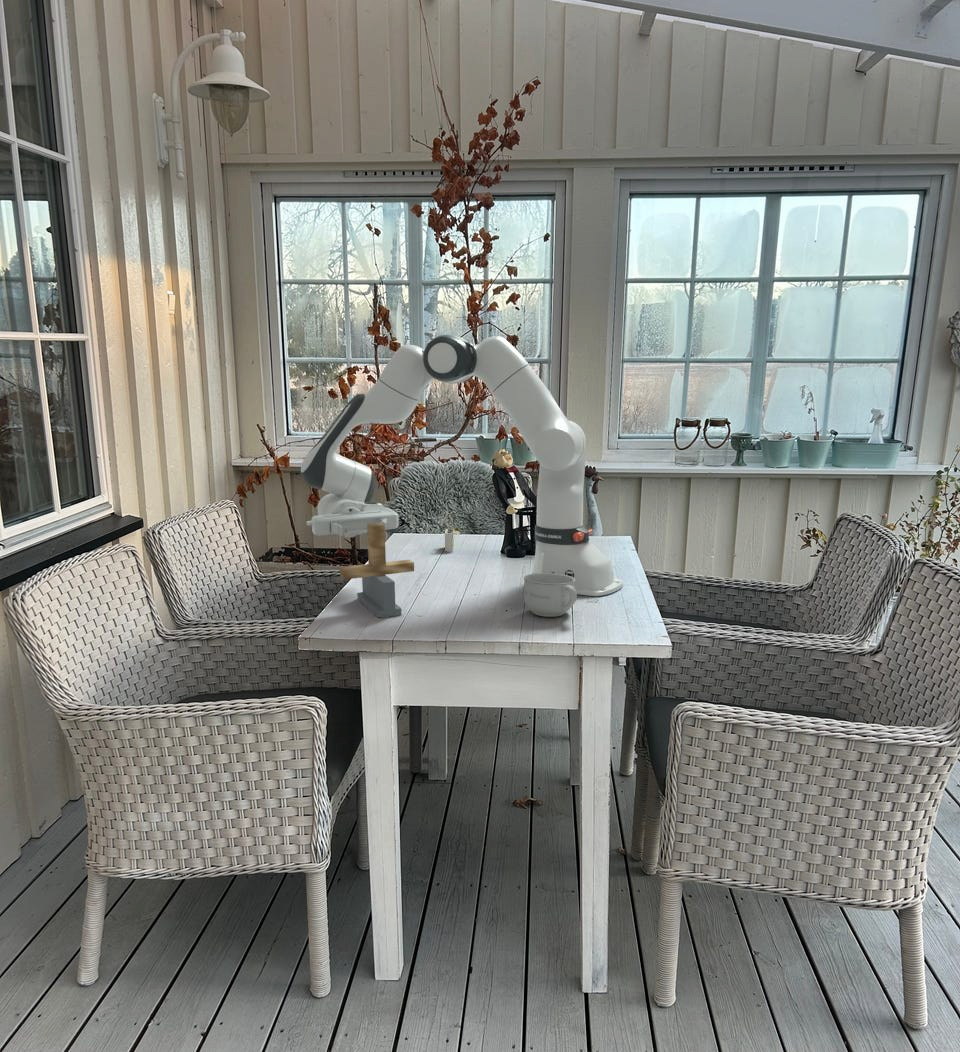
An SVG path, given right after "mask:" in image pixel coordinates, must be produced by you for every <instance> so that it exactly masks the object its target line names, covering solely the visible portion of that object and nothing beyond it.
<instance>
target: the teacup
mask: <svg viewBox="0 0 960 1052" xmlns="http://www.w3.org/2000/svg"><path fill="white" fill-rule="evenodd" d="M523 579H524V587H523V588H524V589H523V591H524V592H523V596H524V597H523V599H524V604H525V606H526V607H527V608H528V610H530V611H531V613H532V614H534V615H536V616H541V617H547V618H549V617H550V618H551V617H552V618H553V617H560V616H563V615H564V614H565V613H566V612H568V611H570V609H571V608H572V606H574V604H575V603H576V602H577V598H578V594H577V593H576V590H575V588H574V583H575V579H574V578H573V577H571V576H567V575H562V574H555V573H535V574H532V573H530V574H526V575H525V576H524V577H523Z"/></svg>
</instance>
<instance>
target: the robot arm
mask: <svg viewBox="0 0 960 1052" xmlns="http://www.w3.org/2000/svg"><path fill="white" fill-rule="evenodd" d="M474 377H476V378H479V380H480V381H482V382H483V383H484V385H485V386H486V387H487V388H488V390H489V391H490V393H491V394H492V395H493V397H494V398H495V400H497V402H498V403H499V404H500V405H501V407H502V409H503V410H504V411H505V412H506V414H507V415H508V417H510V420H511V421H512V422H513V424H514V425H515V427H516V429H517V430H518V432H519V434H520V435H521V437H522V439H523V441H524V442H525V444H526V446H527V447H528V449H529V450H530V451H531V453H532V454H533V456H534V457H535V460H536V461H537V462H538V464H539V471H538V480H537V481H538V482H537V489H536V524H535V525H534V542H535V544H534V545H535V554H534V562H533V567H532V571H531V574H535V573H555V574H562V575H567V576H571V577H573V578H574V579H575V583H574V588H575V590H576V593H577V595H579V596H580V595H581V596H591V597H599V596H600V597H601V596H605V595H610V594H613V593H614V592H616V591H618V590H621V588H622V587H623V586H624V582H623V580H622V579H620V578H616V577H614V567H613V563H612V560H611V559H610V558H609V557H608V556H606V555H605V554H604V553H603V552H602V551H600V549H599V548H598V547H596V546H595V545H594V544H593V543H592V542H591V541H590V535H592V534H593V532H592V531H593V529H592V528H590V529H587V528H586V527H585V525H584V524H583V521H584V517H583V516H584V515H583V514H584V487H585V485H584V484H585V471H586V469H585V468H586V451H587V440H586V434H585V432H584V430H583V428H582V427H581V426H580V425H579V424H578V423H576V422H575V421H572V420H569V419H568V418H567V417H566V416H565V414H564V412H563V411H562V410H561V407H559V405H558V403H557V402H556V400H555V398H554V397H553V395H552V393H551V391H550V390H549V388H548V387H547V385H545V383H544V382H543V381H542V379H541V378H540V377H539V375H538V374H537V373H536V371H535V370H534V369H533V367H532V366H531V365H530V364H529V363H528V361H527V360H526V359H525V357H524V356H523V354H521V353H520V352H519V351H518V349H516V347H514V345H512V343H511V342H509V341H508V340H507V339H506V338H505V337H503V336H499V335H493V336H489V337H487V338H484V339H483V340H481V342H479V343H477V344H473V343H471V342H470V341H468V340H466V339H465V338H463V337H461V336H460V337H459V336H456V335H450V334H442V335H438V336H435V337H434V338H432V339H431V340H430V341H429V342H428V343H427V344H426V346H425V347H424V348H422V347H420V346H419V345H415V344H404V345H401V346H400V347H398V349H397V350H396V351H395V352H394V354H393V355H392V357H391V358H390V359H389V360H388V362H387V363H386V365H385V366H384V368H383V369H382V372H381V374H380V376H379V377H378V379H377V381H376V382H375V383H374V385H373V386H372V387H371V388H370V389H369V390H367V391H366V392H364V393H357V394H356V395H354V396H352V398H351V399H350V400H349V401H348V402H347V404H346V405H344V407H343V409H342V410H341V411H340V413H339V414H338V415H337V416H336V418H335V419H334V420H333V422H332V423H331V425H330V426H329V427H328V428H327V430H326V431H325V432H324V434H323V435H322V436H321V438H320V439H319V440H318V442H317V443H316V444H315V445H314V446H313V447H311V449H310V451H309V452H308V453H307V454H306V455H305V457H304V458H303V459H302V462H301V466H300V470H299V473H300V476H301V477H302V478H301V479H302V480H303V482H304V483H305V484H306V486H307V487H310V488H313V489H316V490H322V491H324V492H326V493H328V494H326V495H324V496H323V497H322V498H321V499H320V500H319V501H318V504H317V515H313V516H312V517H311V519H310V520H307V521H306V526H308V527H311V530H312V531H311V532H312V533H313V535H315V536H327V535H328V536H329V535H338V536H341V537H343V538H354V537H356V536H358V535H362V534H365V533H367V524H372V523H382V524H384V525H385V531H387V530H395V529H398V528H399V513H398V512H396V511H395V510H393V509H391V508H388V507H385V506H384V505H383V504H382V503H380V502H371V500H372V498H373V496H374V493H375V490H376V478H375V475H374V474H375V473H374V471H373V470H372V468H371V467H369V466H367V465H366V464H362V463H360V462H358V461H356V460H352V459H351V458H347V457H345V456H342V455H340V454H338V453H336V452H337V450H338V449H339V447H340V446H341V444H343V442H344V440H345V439H346V438H347V437H348V435H349V434H350V433H351V431H352V430H353V429H354V428H356V427H357V426H359V425H365V424H379V425H381V424H383V425H392V424H398V423H400V422H403V421H405V420H406V419H408V418H410V416H411V415H412V413H413V412H414V411H415V410H416V407H417V406H418V405H419V404H418V403H419V402H420V400H421V398H422V396H423V395H424V392H425V391H426V389H427V387H428V386H429V384H430V383H431V382H433V381H439V382H443V383H446V384H451V385H452V384H462V383H465V382H466V383H467V382H468V381H470V380H471V379H472V378H474Z"/></svg>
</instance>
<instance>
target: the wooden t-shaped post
mask: <svg viewBox="0 0 960 1052" xmlns="http://www.w3.org/2000/svg"><path fill="white" fill-rule="evenodd" d="M366 533H367V557H368V563H367V564H359V565H352V566H351V565H349V566H341V567H340V566H339V577H340V578H341V579H342V580H343V581H344V580H353V579H360V578H361V579H362V577H370V576H378V575H386V576H387V575H394V574H395V575H396V574H401V573H402V574H403V573H409V572H411V573H413V572H415V562H414V561H413V560H411V559H404V560H403V559H401V560H394V561H393V560H392V561H387V559H386V558H387V557H386V552H387V551H386V530H385V525H384V524H382V523H372V524H367V532H366Z"/></svg>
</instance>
